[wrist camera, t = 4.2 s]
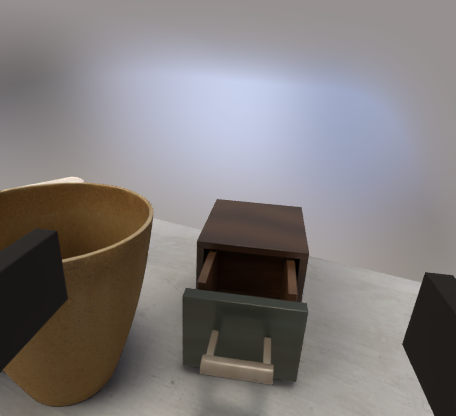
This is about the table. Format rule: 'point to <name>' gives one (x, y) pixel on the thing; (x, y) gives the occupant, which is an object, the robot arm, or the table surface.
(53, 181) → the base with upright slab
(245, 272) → the drawer
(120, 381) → the table surface
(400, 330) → the table surface
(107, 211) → the plant pot
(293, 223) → the cabinet
